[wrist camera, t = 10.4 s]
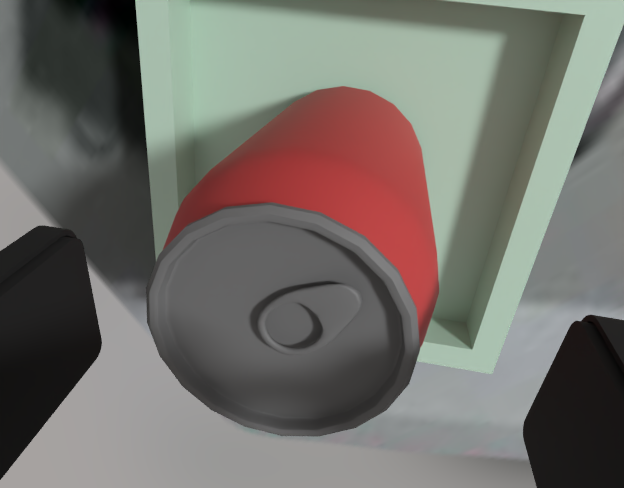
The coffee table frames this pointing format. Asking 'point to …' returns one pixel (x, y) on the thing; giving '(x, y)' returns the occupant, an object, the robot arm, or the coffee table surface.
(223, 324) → the beer can
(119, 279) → the coffee table surface
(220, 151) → the tray
